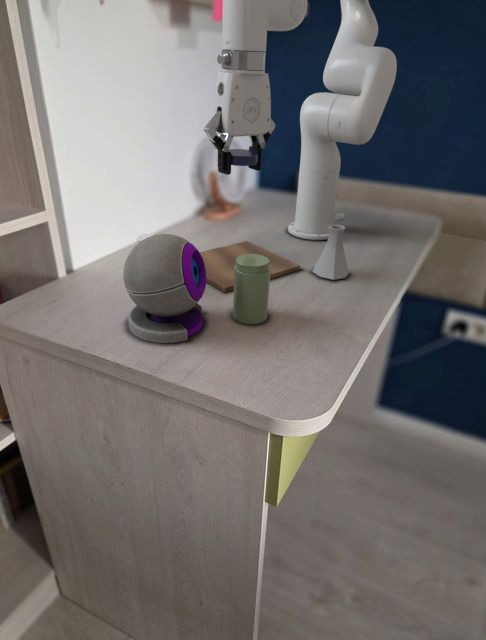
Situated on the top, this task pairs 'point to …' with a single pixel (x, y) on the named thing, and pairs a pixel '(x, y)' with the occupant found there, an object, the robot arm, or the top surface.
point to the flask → (333, 256)
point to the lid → (243, 157)
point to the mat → (224, 261)
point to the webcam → (165, 288)
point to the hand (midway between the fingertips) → (239, 170)
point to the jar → (251, 288)
